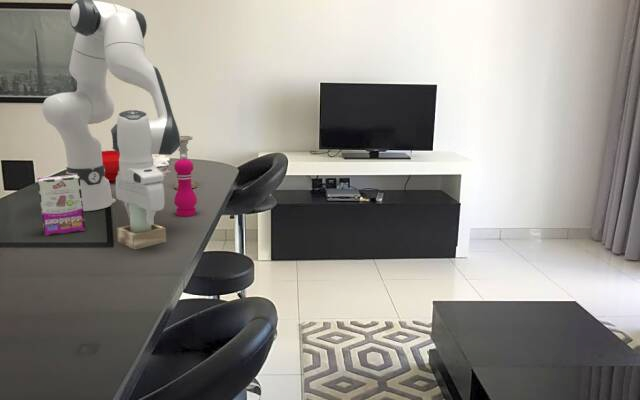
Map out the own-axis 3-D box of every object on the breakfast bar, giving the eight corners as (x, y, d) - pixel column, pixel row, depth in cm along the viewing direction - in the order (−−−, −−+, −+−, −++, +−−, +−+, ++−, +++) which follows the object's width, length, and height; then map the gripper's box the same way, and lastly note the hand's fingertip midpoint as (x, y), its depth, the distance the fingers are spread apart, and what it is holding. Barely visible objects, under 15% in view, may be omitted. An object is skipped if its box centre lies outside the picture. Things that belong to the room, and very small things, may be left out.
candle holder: (201, 186, 222) (198, 136, 217) (185, 191, 214) (182, 139, 209) (185, 184, 226) (182, 135, 221) (169, 188, 219) (166, 137, 214)
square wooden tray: (117, 241, 154) (116, 228, 153) (148, 234, 160) (147, 221, 159) (135, 249, 147) (134, 235, 146) (166, 241, 154) (165, 228, 153)
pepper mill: (192, 217, 178) (188, 156, 173) (171, 216, 179) (167, 155, 174) (201, 211, 185) (198, 152, 180) (181, 210, 186) (177, 152, 181)
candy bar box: (84, 226, 167) (79, 173, 163) (85, 231, 163) (80, 177, 159) (43, 231, 162) (36, 177, 158) (43, 236, 158) (37, 180, 154)
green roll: (127, 238, 153) (124, 203, 151) (145, 234, 157) (143, 200, 155) (137, 242, 150) (135, 207, 147) (155, 238, 154) (153, 203, 151)
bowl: (162, 175, 244) (160, 152, 242) (111, 188, 217) (109, 163, 215) (110, 169, 256) (108, 148, 254) (55, 181, 229) (52, 158, 227)
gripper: (107, 168, 154) (111, 215, 157) (145, 178, 140) (149, 230, 143) (128, 165, 158) (132, 211, 161) (167, 175, 145) (170, 225, 148)
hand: (140, 220), depth 152 cm, fingers open, 8 cm apart
